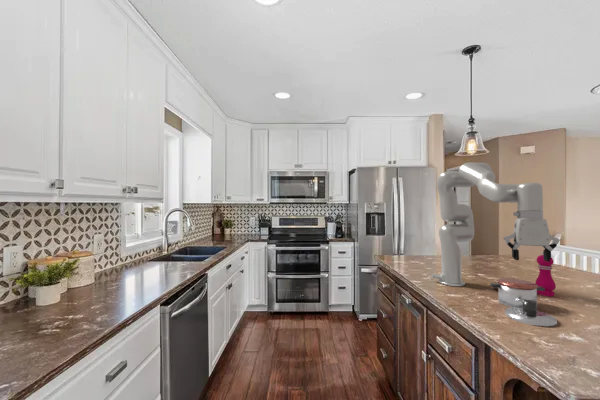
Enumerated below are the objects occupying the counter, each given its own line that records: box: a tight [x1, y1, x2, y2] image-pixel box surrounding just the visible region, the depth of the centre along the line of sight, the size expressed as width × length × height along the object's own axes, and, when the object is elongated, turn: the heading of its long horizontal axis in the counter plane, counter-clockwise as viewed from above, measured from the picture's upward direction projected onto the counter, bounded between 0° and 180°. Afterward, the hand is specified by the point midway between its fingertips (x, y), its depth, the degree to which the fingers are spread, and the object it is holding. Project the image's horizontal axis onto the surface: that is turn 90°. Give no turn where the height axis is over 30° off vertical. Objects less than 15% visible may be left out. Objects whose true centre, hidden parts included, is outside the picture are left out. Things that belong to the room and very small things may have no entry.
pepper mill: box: [534, 252, 556, 298], centre depth 131 cm, size 7×7×20 cm
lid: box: [504, 300, 558, 328], centre depth 105 cm, size 15×15×6 cm
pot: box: [490, 277, 545, 308], centre depth 120 cm, size 19×14×9 cm
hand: (531, 260), depth 106 cm, fingers open, 9 cm apart
